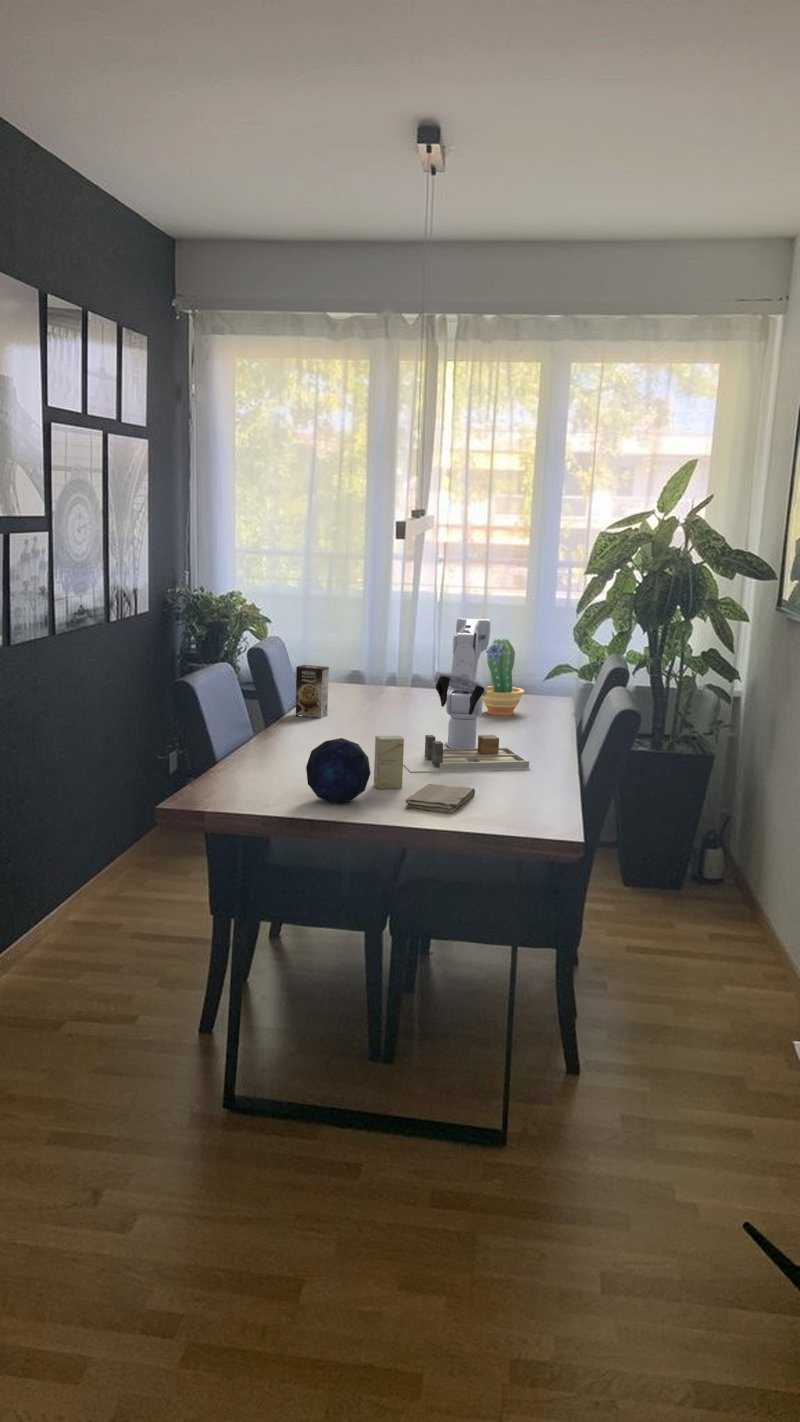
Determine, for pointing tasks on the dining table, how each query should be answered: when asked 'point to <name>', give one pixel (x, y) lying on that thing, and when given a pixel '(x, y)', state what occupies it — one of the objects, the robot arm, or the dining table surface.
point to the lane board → (425, 765)
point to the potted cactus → (501, 679)
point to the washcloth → (440, 798)
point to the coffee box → (312, 691)
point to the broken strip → (438, 758)
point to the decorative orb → (338, 770)
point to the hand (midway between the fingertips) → (457, 708)
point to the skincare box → (388, 762)
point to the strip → (429, 750)
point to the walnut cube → (488, 744)
